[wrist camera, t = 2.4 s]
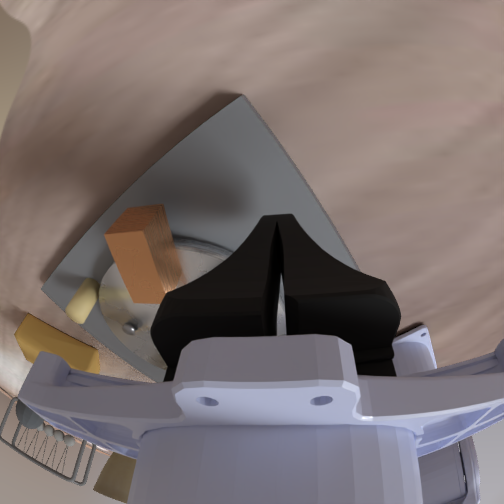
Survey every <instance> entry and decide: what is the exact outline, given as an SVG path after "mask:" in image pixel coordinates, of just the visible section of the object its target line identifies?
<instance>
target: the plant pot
mask: <svg viewBox="0 0 504 504" xmlns="http://www.w3.org/2000/svg"><path fill="white" fill-rule="evenodd" d="M136 461H137V459H134V458H131V457H128V456H125V455H122V454H119V453H116V452H113V453H112V455H111V456H110V458H109V459H108V461H107V463H106V464H105V466H104V468H103V470H102V471H101V474H100V476H99V478H98V480H97V482H96V484H95V486H94V489H93V490H94V491H96V492H98V493H100V494H103V495H105V496H107V497H110V498H112V499H115V500H118V501H121V502H124V503H127V500H128V496H129V491H130V487H131V482H132V478H133V473H134V469H135V465H136Z"/></svg>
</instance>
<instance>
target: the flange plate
mask: <svg viewBox="0 0 504 504" xmlns="http://www.w3.org/2000/svg"><path fill="white" fill-rule="evenodd" d="M104 236H105V239H106V241H107V244H108V246H109V249H110V251H111V254H112V256H113V259H114V262H113V263H112V264H111V266H110V267H109V269H108V270H107V272H106V274H105V275H104V277H103V279H102V281H101V284H100V289H99V303H100V308H101V311H102V314H103V317H104V319H105V321H106V323H107V325H108V326H109V328H110V329H111V331H112V332H113V333H114V335H115V336H116V337H117V338H118V339H119V340H120V341H121V342H122V343H123V344H124V345H125V346H126V347H127V348H128V349H129V350H131V351H132V352H133V353H134V354H136V355H137V356H139V357H140V358H142V359H144V360H145V361H147V362H149V363H150V364H152V365H155V366H157V367H159V368H161V369H163V370H167V365H166V363H165V362H164V360H163V359H162V357H161V355H160V354H159V352H158V350H157V349H156V347H155V345H154V343H153V341H152V339H151V336H150V328H151V326H152V323H153V321H154V318H155V316H156V313H157V310H158V308H159V306H160V303H161V302H162V300H163V298H164V296H165V294H166V293H167V292H169V291H172V290H174V289H176V288H179V287H181V286H183V285H186V284H188V283H190V282H192V281H194V280H195V279H197V278H199V277H201V276H203V275H204V274H206V273H208V272H209V271H211V270H212V269H213V268H215V267H216V266H218V265H219V264H220V263H222V262H223V261H224V260H226V259H227V258H228V257H229V256H230V255H231V254H233V253H232V252H230V251H227V250H225V249H223V248H220V247H217V246H214V245H211V244H208V243H203V242H199V241H195V240H187V239H173V237H172V234H171V230H170V227H169V223H168V219H167V216H166V212H165V208H164V204H154V205H146V206H138V207H130V208H127V209H126V210H125V211H124V212H123V213H122V214H121V216H120V217H119V218H118V219H117V220H116V221H115V222H114V223H113V225H112V226H111V227H110V228H109V229H108V230H107V231H106V233H105V234H104ZM277 336H286V319H285V303H284V300H283V298H282V296H281V294H280V293H279V303H278V314H277Z"/></svg>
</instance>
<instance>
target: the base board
mask: <svg viewBox="0 0 504 504" xmlns="http://www.w3.org/2000/svg"><path fill="white" fill-rule="evenodd" d="M154 204H164V208H165V212H166V216H167V219H168V223H169V227H170V230H171V234H172V237H173V239H187V240H195V241H199V242H203V243H208V244H211V245H214V246H217V247H220V248H223V249H225V250H227V251H230V252H232V253H234V252H235V251H236V250H237V249H238V247H239V246H240V245H241V244H242V243H243V242H244V241H245V239H246V238H247V237H248V236H249V234H250V233H251V232H252V230H253V229H254V227H255V226H256V225H257V223H258V221H259V220H260V218H261V217H262V216H263V215H275V214H291V213H292V214H293V215H294V216H295V218H296V220H297V221H298V223H299V224H300V225H301V227H302V228H303V229H304V230H305V232H306V233H307V234H308V235H309V236H310V237H311V238H312V239H313V240H314V241H315V242H316V243H317V244H318V245H319V246H320V247H321V248H322V249H323V250H325V251H326V252H327V253H328V254H330V255H331V256H333V257H334V258H336V259H337V260H339V261H340V262H342V263H344V264H345V265H347V266H349V267H351V268H353V269H355V270H357V271H360V270H359V268H358V266H357V264H356V262H355V261H354V259H353V257H352V255H351V254H350V252H349V250H348V248H347V247H346V245H345V243H344V241H343V240H342V238H341V236H340V235H339V233H338V231H337V230H336V228H335V226H334V225H333V223H332V221H331V220H330V218H329V216H328V215H327V213H326V211H325V210H324V208H323V207H322V205H321V203H320V202H319V200H318V199H317V197H316V196H315V194H314V192H313V191H312V189H311V188H310V186H309V185H308V183H307V182H306V180H305V179H304V177H303V176H302V174H301V173H300V171H299V170H298V168H297V167H296V165H295V164H294V162H293V161H292V159H291V158H290V157H289V155H288V154H287V152H286V151H285V149H284V148H283V147H282V145H281V144H280V142H279V141H278V139H277V138H276V137H275V135H274V134H273V133H272V131H271V130H270V128H269V127H268V126H267V124H266V123H265V122H264V120H263V119H262V118H261V116H260V115H259V114H258V112H257V111H256V110H255V108H254V107H253V106H252V105H251V103H250V102H249V101H248V99H247V98H246V97H245V96H244V95H242V96H240V97H239V98H237V99H236V100H234V101H233V102H232V103H230V104H229V105H227V106H226V107H225V108H223V109H222V110H220V111H219V112H218V113H216V114H215V115H214V116H212V117H211V118H210V119H208V120H207V121H206V122H204V123H203V124H202V125H200V126H199V127H198V128H197V129H195V130H194V131H193V132H192V133H190V134H189V135H188V136H187V137H185V138H184V139H183V140H182V141H181V142H179V143H178V144H177V145H176V146H175V147H173V148H172V149H171V150H170V151H169V152H167V153H166V154H165V155H164V156H163V157H162V158H161V159H159V160H158V161H157V162H156V163H155V164H154V165H153V166H152V167H150V168H149V169H148V170H147V171H146V172H145V173H144V174H143V175H142V176H141V177H140V178H139V179H138V180H136V181H135V182H134V183H133V184H132V185H131V186H130V187H129V188H128V189H127V190H126V191H125V192H124V193H123V194H122V195H121V196H120V197H119V198H118V199H117V200H116V201H115V202H114V203H113V204H112V205H111V206H110V207H109V208H108V209H107V210H106V211H105V212H104V214H103V215H102V216H101V217H100V218H99V219H98V220H97V221H96V222H95V223H94V224H93V225H92V226H91V228H90V229H89V230H88V231H87V232H86V233H85V234H84V235H83V237H82V238H81V239H80V240H79V241H78V242H77V244H76V245H75V246H74V247H73V248H72V249H71V251H70V252H69V253H68V254H67V255H66V257H65V258H64V259H63V260H62V262H61V263H60V264H59V265H58V267H57V268H56V269H55V271H54V272H53V273H52V274H51V276H50V277H49V278H48V280H47V281H46V282H45V284H44V285H43V286H42V288H41V290H42V291H43V292H44V293H45V294H46V295H47V296H48V297H49V298H50V299H51V300H53V301H54V302H55V303H56V304H57V305H58V306H59V307H60V308H61V309H62V310H63V311H64V312H65V313H66V314H67V316H68V317H69V318H70V319H71V320H73V321H74V322H76V323H78V324H79V325H80V326H81V327H82V328H84V329H85V330H86V331H87V332H88V333H90V334H91V335H92V336H93V337H94V338H96V339H97V340H98V341H99V342H101V343H102V344H103V345H105V346H106V347H107V348H108V349H110V350H111V351H112V352H114V353H115V354H116V355H118V356H119V357H120V358H122V359H123V360H124V361H126V362H127V363H129V364H130V365H131V366H133V367H134V368H136V369H137V370H139V371H140V372H142V373H143V374H145V375H146V376H148V377H149V378H151V379H152V380H154V381H155V382H157V383H160V382H163V380H164V377H165V373H166V370H163V369H161V368H159V367H157V366H155V365H152V364H150V363H149V362H147V361H145V360H144V359H142V358H140V357H139V356H137V355H136V354H134V353H133V352H132V351H131V350H129V349H128V348H127V347H126V346H125V345H124V344H123V343H122V342H121V341H120V340H119V339H118V338H117V337H116V336H115V335H114V333H113V332H112V331H111V329H110V328H109V326H108V325H107V323H106V321H105V319H104V317H103V314H102V311H101V308H100V303H99V289H100V284H101V281H102V279H103V277H104V275H105V274H106V272H107V270H108V269H109V267H110V266H111V264H112V263H113V262H114V259H113V256H112V254H111V251H110V249H109V246H108V244H107V241H106V239H105V236H104V234H105V233H106V231H107V230H108V229H109V228H110V227H111V226H112V225H113V223H114V222H115V221H116V220H117V219H118V218H119V217H120V216H121V214H122V213H123V212H124V211H125V210H126V209H127V208H130V207H138V206H146V205H154ZM360 272H361V271H360ZM280 294H281V296H282V298H283V300H284V288H283V281H282V275H281V282H280Z"/></svg>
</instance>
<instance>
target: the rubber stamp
mask: <svg viewBox="0 0 504 504" xmlns="http://www.w3.org/2000/svg"><path fill="white" fill-rule="evenodd" d="M14 335H15V337H16V340H17V342H18V344H19V346H20V348H21V350H22V352H23V354H24V356H25V358H26V360H28V361H30V362H31V363H33V364H34V362H35V360H36V358H37V356H38V354H39V353H40V351H44V352H48V353H52V354H56V355H59V356H60V357H62V358H63V359H64V360H65V361H66V362H67V363H68V364H69V366H70V368H72V369H77V370H81V371H85V372H90V373H95V374H99V372H100V364H99V355H98V350H97V349H95V348H93V347H91V346H89V345H87V344H84V343H82V342H80V341H78V340H76V339H74V338H72V337H70V336H68V335H66V334H65V333H63V332H61V331H59V330H57V329H55V328H53V327H51V326H50V325H48V324H46V323H44V322H43V321H41V320H39V319H37V318H36V317H34V316H32V315H31V314H29V313H28V314H27V316H26V317H25V319H24V320H23V322H22V323H21V325H20V326H19V328H18V329H17V331H16V332H15V334H14ZM16 414H17V417H18V420H19V421H20V423H21V424H23V426H25V427H27V428H29V429H36V428H38V427H40V426H41V425H42V423H43V422H44V419H43V418H42V417H40V416H39V415H38V414H36V413H35V412H34V411H33V410H32V409H30V408H29V407H28V406H27V405H25V404H24V403H23V402H22V401H21V400H20V399H18V402H17V405H16Z"/></svg>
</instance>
